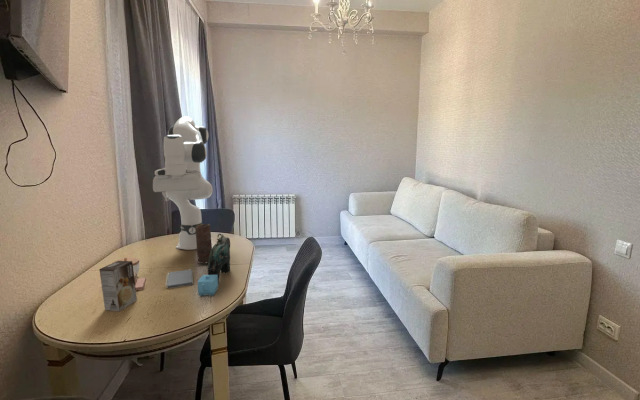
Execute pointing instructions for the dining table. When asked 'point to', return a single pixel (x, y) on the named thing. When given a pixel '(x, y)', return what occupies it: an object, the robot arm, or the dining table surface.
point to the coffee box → (118, 285)
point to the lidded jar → (135, 263)
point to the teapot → (207, 285)
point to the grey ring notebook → (179, 279)
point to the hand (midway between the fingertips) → (178, 200)
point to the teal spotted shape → (219, 257)
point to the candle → (203, 242)
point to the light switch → (139, 282)
